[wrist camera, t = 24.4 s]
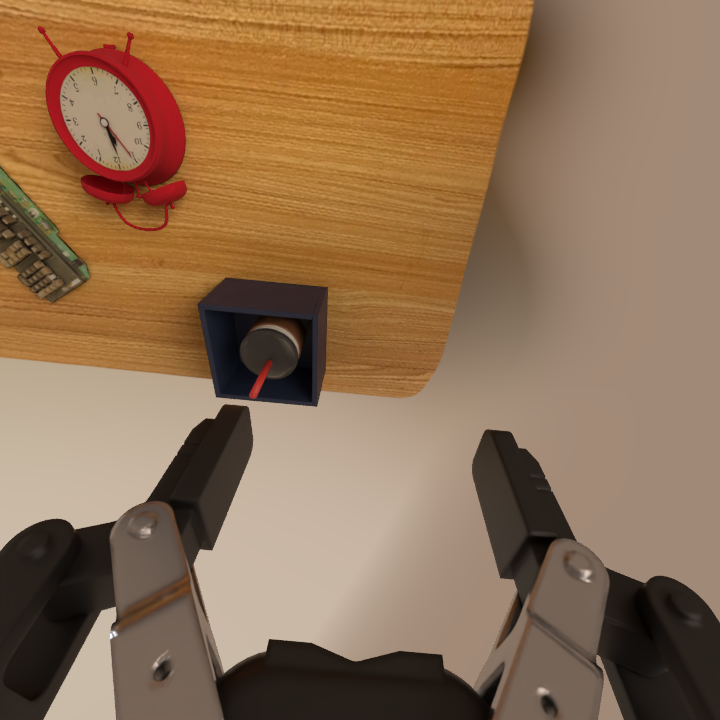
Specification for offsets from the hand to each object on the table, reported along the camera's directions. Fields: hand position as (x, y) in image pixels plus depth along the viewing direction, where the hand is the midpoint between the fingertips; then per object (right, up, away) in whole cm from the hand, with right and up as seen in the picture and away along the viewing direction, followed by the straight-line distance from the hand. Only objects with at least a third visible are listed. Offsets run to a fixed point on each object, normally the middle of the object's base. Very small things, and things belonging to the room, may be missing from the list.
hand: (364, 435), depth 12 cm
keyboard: (-40, +20, +26) cm, 52 cm away
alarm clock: (-22, +24, +22) cm, 39 cm away
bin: (-10, +7, +32) cm, 35 cm away
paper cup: (-9, +7, +31) cm, 33 cm away
